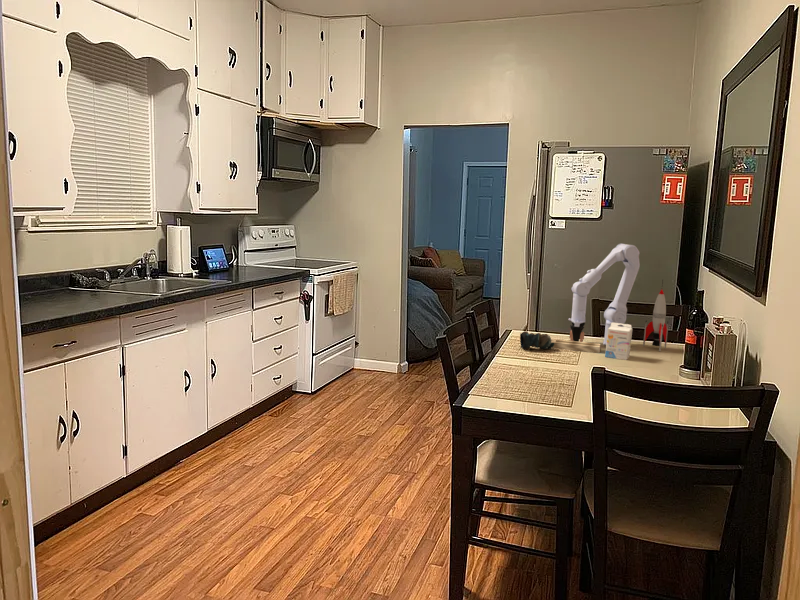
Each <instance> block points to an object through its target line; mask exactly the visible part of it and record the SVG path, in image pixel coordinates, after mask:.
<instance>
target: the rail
mask: <svg viewBox="0 0 800 600" xmlns="http://www.w3.org/2000/svg"><path fill="white" fill-rule="evenodd" d="M551 340H552V341H551V343H554V346H553V347H552V348H551V349H555V350H564V349H565V350H567V351H577V352H583V353H584V352H585V353H593V354H595V353H597V354H600V352H601V343H597V342H585V341H583V342H580V341H579V342H578V341H570V340H567V339H558V338H557V339H556V338H555V339H554V338H551Z"/></svg>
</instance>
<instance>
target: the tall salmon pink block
mask: <svg viewBox="0 0 800 600" xmlns="http://www.w3.org/2000/svg"><path fill="white" fill-rule="evenodd" d="M584 339H585V331H582V332H581V335H580V339H579V342H584ZM569 341H573V334H572V330H569Z"/></svg>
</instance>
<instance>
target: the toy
mask: <svg viewBox="0 0 800 600" xmlns="http://www.w3.org/2000/svg"><path fill="white" fill-rule="evenodd" d="M663 284H664V280H662V284H661V286H663ZM654 302H655V303H654V307H653V312H652V320H651V321H650V322H648V324H647V321H648V320H645V324H644V331H643V334H644V335H643V343H642V346H643V347H645V345H646V341H647V339H648V337H649V336H650V335H651V334H652V338H653V339H654V340H653V341H652V344H651V345H652V346H654V347H659V349H658V352H661V351H662V343H663V342H662V341H663V340H664V348H667V343H668V332H669V321H667V324H666V315H667V304H666V302H667V301H666V296H665V292H664V291H663V289H661V290H660V291H659V292H658V294H657V296H656V299H655V301H654Z"/></svg>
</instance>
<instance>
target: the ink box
mask: <svg viewBox="0 0 800 600" xmlns="http://www.w3.org/2000/svg"><path fill="white" fill-rule="evenodd" d="M618 325H623V326H624V327H620V326H618ZM632 335H633V328H632V324H628V323H624V324H621V323H613V322H612V323H611V326H610V327H609V328H608V333H607V343H606V345H605V352H604V353H605V355H604V357H605V358H611V359H617V360H624V361H625V360H626V361H627V360H628V359H629V358H630V354H631V346H632V345H631V344H632V337H633V336H632Z"/></svg>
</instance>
